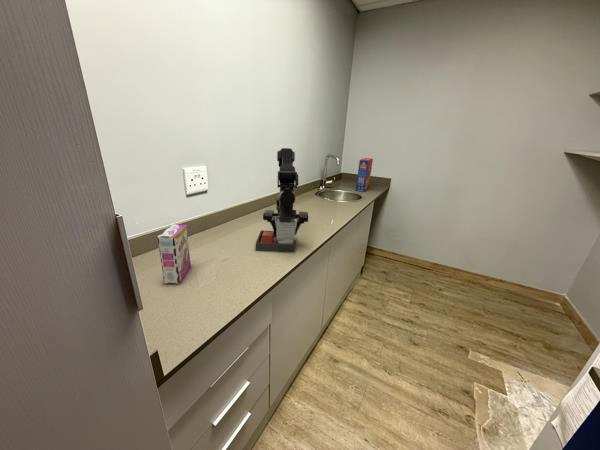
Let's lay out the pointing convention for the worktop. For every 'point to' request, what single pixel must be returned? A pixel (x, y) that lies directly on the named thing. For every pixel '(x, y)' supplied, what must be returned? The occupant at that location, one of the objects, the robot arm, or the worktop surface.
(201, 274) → the worktop surface
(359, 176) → the pasta box
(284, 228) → the medicine box
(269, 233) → the terracotta block
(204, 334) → the worktop surface
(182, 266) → the candy bar box
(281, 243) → the tray
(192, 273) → the worktop surface
